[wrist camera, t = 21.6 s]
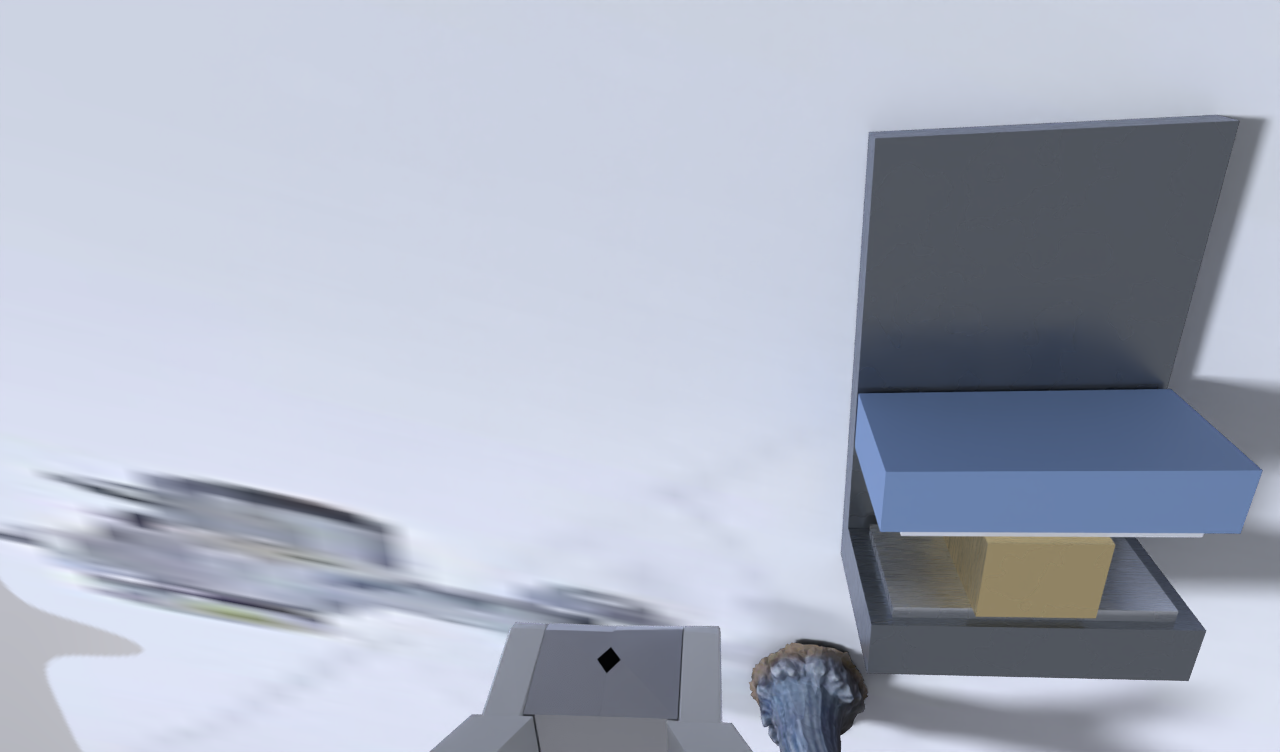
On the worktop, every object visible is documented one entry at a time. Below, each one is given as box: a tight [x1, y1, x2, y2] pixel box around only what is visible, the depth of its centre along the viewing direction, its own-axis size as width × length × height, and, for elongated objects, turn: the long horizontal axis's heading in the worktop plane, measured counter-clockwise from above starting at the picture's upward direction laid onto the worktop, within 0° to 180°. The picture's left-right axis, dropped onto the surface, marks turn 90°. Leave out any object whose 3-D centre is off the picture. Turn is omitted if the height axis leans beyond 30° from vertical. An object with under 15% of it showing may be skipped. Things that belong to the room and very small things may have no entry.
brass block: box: [943, 536, 1115, 618], centre depth 36 cm, size 4×5×7 cm
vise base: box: [841, 115, 1239, 681], centre depth 34 cm, size 23×14×8 cm, turn 4°
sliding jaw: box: [855, 389, 1263, 537], centre depth 34 cm, size 4×14×7 cm, turn 94°
